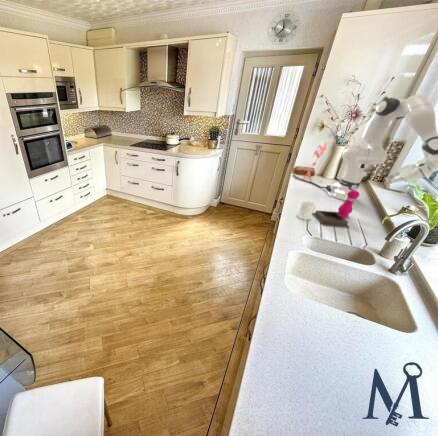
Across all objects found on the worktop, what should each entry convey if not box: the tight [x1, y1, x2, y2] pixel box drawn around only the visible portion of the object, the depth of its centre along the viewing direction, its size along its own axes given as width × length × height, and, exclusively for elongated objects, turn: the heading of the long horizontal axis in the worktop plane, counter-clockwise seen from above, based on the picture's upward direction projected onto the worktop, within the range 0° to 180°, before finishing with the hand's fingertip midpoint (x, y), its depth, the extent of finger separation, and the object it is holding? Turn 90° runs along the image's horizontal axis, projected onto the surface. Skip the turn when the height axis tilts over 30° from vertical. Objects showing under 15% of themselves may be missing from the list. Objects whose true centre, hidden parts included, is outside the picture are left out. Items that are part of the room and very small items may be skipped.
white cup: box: [297, 200, 317, 221], centre depth 152 cm, size 8×8×10 cm
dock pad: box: [311, 209, 350, 228], centre depth 152 cm, size 15×15×4 cm
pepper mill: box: [336, 188, 360, 219], centre depth 154 cm, size 7×7×20 cm
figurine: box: [302, 141, 328, 182], centre depth 212 cm, size 15×26×35 cm, turn 148°
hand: (390, 179), depth 139 cm, fingers open, 8 cm apart
